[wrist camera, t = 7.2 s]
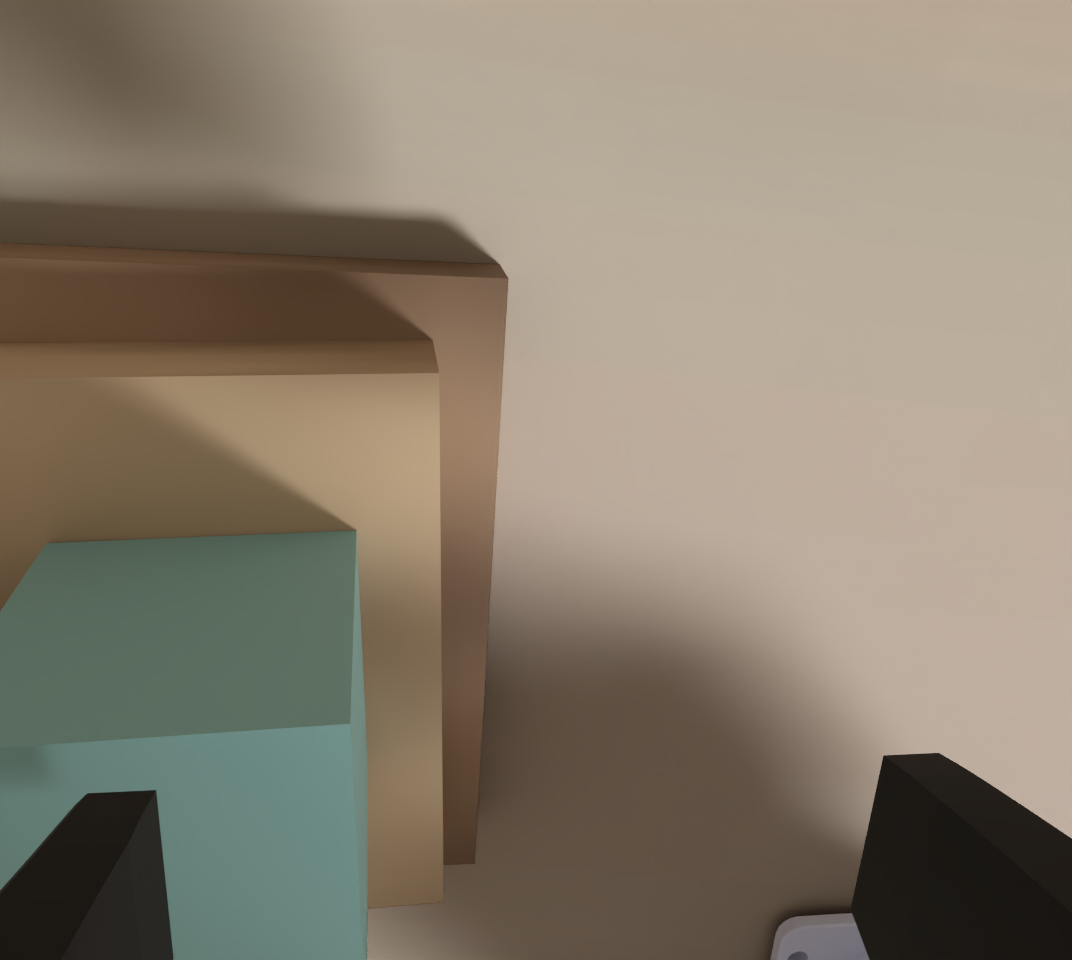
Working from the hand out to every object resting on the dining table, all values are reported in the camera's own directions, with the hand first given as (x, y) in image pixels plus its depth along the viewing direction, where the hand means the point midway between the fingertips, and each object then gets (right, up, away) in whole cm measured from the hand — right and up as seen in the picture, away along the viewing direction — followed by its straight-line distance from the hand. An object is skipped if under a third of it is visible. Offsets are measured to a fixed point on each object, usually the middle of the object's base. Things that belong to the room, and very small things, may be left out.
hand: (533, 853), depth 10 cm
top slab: (-5, +1, +8) cm, 10 cm away
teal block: (-5, +1, +6) cm, 8 cm away
